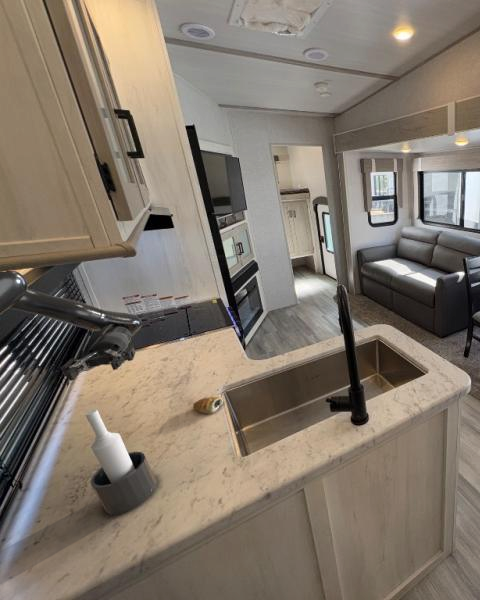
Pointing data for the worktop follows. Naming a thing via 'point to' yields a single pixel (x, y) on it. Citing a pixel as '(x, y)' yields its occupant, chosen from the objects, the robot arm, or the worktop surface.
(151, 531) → the worktop surface
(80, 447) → the worktop surface
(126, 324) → the robot arm
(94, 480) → the bowl
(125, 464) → the bottle
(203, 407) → the pastry
